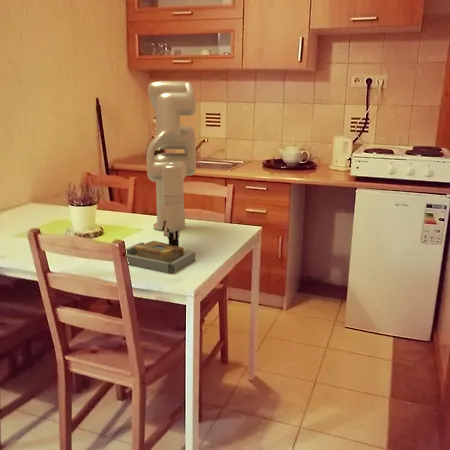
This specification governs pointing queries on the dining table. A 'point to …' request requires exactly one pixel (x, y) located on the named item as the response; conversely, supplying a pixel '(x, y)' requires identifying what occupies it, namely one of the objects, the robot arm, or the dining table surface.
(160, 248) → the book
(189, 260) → the tray
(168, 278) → the dining table surface
